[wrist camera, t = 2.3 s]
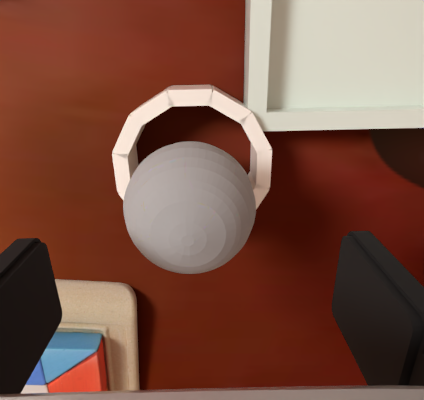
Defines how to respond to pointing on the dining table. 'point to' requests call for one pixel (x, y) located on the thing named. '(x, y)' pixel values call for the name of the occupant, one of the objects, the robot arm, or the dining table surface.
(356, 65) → the tray
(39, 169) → the dining table surface
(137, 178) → the light bulb
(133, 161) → the holder ring
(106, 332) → the wooden puzzle
